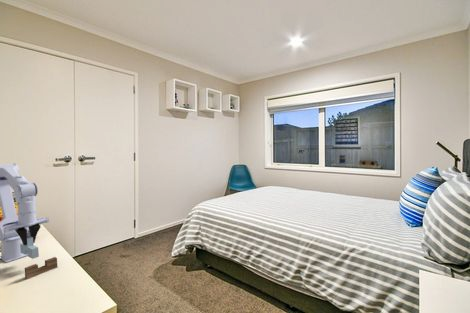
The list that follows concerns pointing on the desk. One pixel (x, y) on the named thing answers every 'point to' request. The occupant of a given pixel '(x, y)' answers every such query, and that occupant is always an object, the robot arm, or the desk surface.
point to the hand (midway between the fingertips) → (28, 243)
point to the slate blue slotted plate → (29, 248)
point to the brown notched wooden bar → (40, 268)
